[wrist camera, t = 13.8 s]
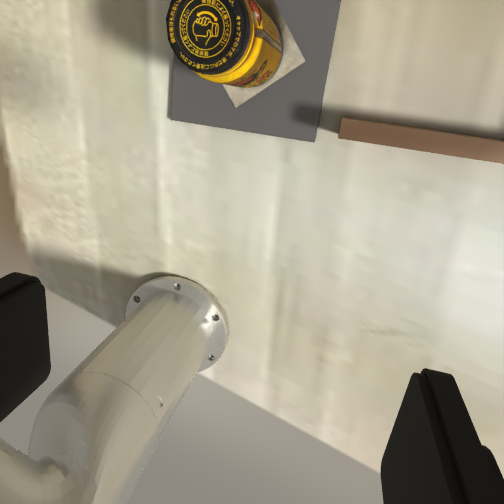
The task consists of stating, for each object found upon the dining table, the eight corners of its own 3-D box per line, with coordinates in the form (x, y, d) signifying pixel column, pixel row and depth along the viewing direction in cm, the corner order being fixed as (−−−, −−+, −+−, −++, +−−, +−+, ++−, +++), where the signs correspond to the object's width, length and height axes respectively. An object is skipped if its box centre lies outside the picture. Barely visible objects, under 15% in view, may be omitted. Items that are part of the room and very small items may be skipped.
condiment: (236, 108, 36) (189, 108, 25) (186, 20, 35) (114, -20, 24) (305, 61, 34) (288, 40, 23) (256, -36, 32) (211, -110, 21)
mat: (314, 141, 36) (314, 142, 36) (173, 119, 38) (170, 119, 38) (348, -39, 31) (348, -42, 31) (182, -53, 33) (179, -56, 33)
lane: (572, 169, 33) (609, 180, 28) (338, 134, 36) (338, 138, 31) (659, -30, 27) (722, -57, 23) (376, -52, 30) (382, -80, 26)
